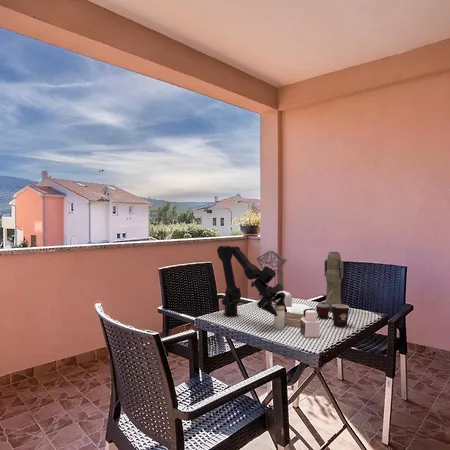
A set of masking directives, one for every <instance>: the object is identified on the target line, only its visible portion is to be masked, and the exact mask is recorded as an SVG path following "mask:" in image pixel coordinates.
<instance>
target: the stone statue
mask: <svg viewBox="0 0 450 450" xmlns="http://www.w3.org/2000/svg"><path fill="white" fill-rule="evenodd" d="M341 259H342V258H341V254H340V252H338V251H329V252H328V254H327V257H326V259H325V260H324V264H323V265H324V274H323V275H324V277H325V281H326V297H325V301H326V300H327V297H328V294H329V293H330V292H331V291H333V292H332V293H331V294H330V295H329V297H328V300H327V304H328V305H329V309H332V305H333V304H342V299H341V298H342V297H341V292H342V291H341V289H342V286H341V285H342V281H343V280H342V279H344V267H345V266H344V262H343V260H341ZM330 312H331V313H332V311H331V310H329V313H330Z"/></svg>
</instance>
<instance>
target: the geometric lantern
mask: <svg viewBox="0 0 450 450" xmlns="http://www.w3.org/2000/svg"><path fill="white" fill-rule="evenodd" d="M277 259H278V260H277ZM268 260H269V261H268ZM256 261H257V262H258V265H259V266H260V267H261V268H260V270H261V271H262V270H263V269H264V267H266V264H268V265H269V266H270V268H271V269H272V270H274V271H275V273H276V276H275V277H274V286H276V285H277V284H281V285H282V286H283V289H282V290H283V291H285V289H284V274H283V271H281V270H283V267H284V264H285V263H286V262H287V261H288V260H287V259H286V258H285V257H283V256H281V255H280V254H278V253H276V252H275V251H274V250H268V251H267V252H265V253H263V254H262V255H260V256H258V257H257V258H256ZM273 263H276V264H275V265H273ZM263 264H264V265H263ZM280 267H281V270H280ZM276 268H277V270H276ZM279 279H280V283H279ZM276 280H277V281H276ZM276 282H277V284H276ZM267 285H268V286H269V283H267ZM262 298H263V297H262V295H261V296H260V297H259V301H260V300H261V299H262ZM272 306H276V303H275V302H274V301H272Z"/></svg>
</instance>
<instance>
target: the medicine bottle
mask: <svg viewBox="0 0 450 450" xmlns="http://www.w3.org/2000/svg"><path fill="white" fill-rule="evenodd" d="M302 314H303V318H301V319H300V327H299V328H300V329H299V331H300V334H301V335H302V336H303V337H304V338H320V334H321V333H320V331H321V330H320V329H321V327H320V326H321V324H320V321H319V320H318V319H317V318H318V317H317V316H318V314H317V311H316V309H314V308H305V309H304V310H303V313H302Z"/></svg>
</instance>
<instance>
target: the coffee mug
mask: <svg viewBox="0 0 450 450" xmlns="http://www.w3.org/2000/svg"><path fill="white" fill-rule="evenodd" d="M327 310H331V311H332V317H331V316H329V314H328V315H327V314H326V312H327ZM327 310H326V311H325V314H326V315H327V316H328V319H330V320H332V321H333V323H332V324H333V326H334V327H336V326H337V328H346V327H345V326H348V320H349V319H348V318H349V313H350V306H349V305H347V304H342V303H341V304H333V305H332V309H327Z"/></svg>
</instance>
